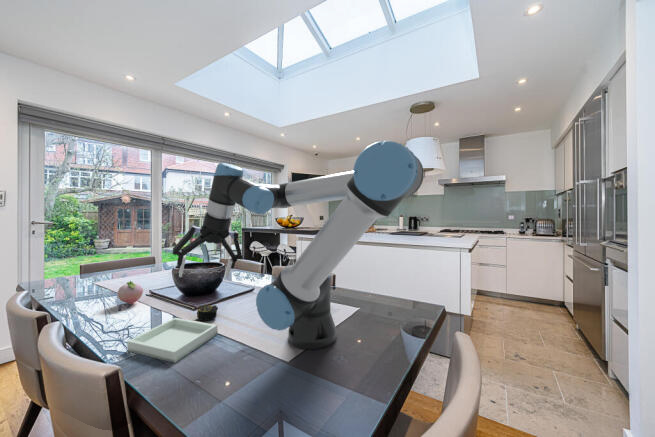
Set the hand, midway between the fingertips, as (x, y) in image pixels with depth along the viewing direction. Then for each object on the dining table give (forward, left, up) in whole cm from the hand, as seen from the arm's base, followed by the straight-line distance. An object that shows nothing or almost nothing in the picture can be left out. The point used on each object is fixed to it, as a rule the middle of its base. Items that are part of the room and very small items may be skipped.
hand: (204, 275), depth 85 cm
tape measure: (+8, -10, -20) cm, 24 cm away
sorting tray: (+5, +7, -19) cm, 21 cm away
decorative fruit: (+49, -10, -20) cm, 54 cm away
